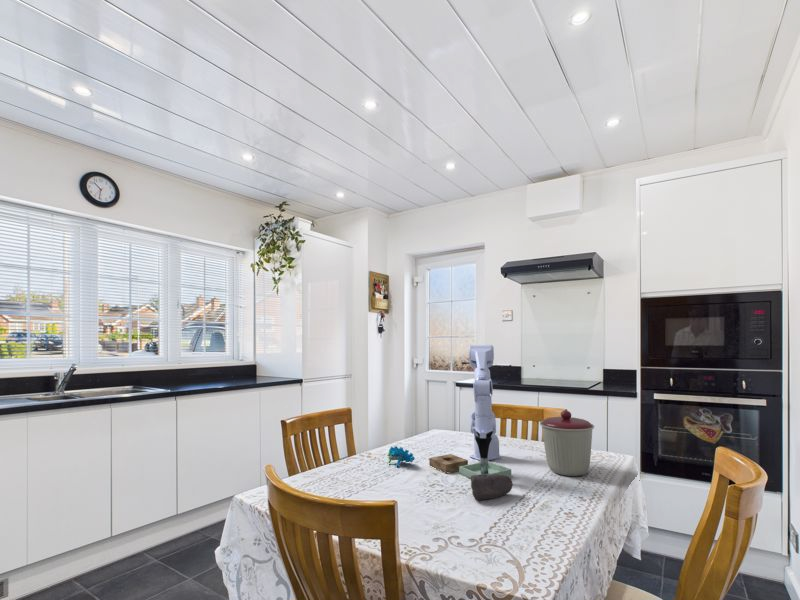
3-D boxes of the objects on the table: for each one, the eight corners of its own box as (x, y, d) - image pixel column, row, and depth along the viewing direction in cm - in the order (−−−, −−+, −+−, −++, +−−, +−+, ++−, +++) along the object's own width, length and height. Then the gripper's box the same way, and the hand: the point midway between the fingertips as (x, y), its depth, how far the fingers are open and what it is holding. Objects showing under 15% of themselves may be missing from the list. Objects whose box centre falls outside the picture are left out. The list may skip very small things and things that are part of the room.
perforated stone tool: (508, 491, 135) (507, 468, 135) (518, 497, 130) (517, 473, 130) (465, 498, 130) (464, 474, 130) (473, 504, 125) (473, 479, 125)
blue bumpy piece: (419, 460, 163) (406, 444, 159) (414, 474, 159) (400, 459, 155) (397, 459, 170) (383, 444, 165) (391, 473, 166) (377, 458, 161)
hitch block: (450, 461, 166) (450, 453, 166) (468, 468, 157) (467, 460, 158) (429, 466, 161) (429, 458, 161) (445, 473, 152) (445, 464, 152)
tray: (487, 467, 158) (487, 460, 158) (511, 476, 148) (511, 469, 148) (459, 474, 151) (459, 466, 152) (482, 484, 141) (482, 476, 141)
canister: (536, 475, 149) (534, 413, 150) (545, 461, 165) (543, 405, 166) (594, 483, 140) (591, 417, 142) (598, 468, 156) (595, 408, 158)
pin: (485, 472, 152) (484, 448, 152) (490, 474, 149) (489, 450, 150) (479, 473, 150) (478, 449, 151) (483, 475, 148) (483, 451, 149)
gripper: (473, 410, 159) (474, 448, 158) (470, 418, 145) (471, 460, 144) (493, 411, 158) (494, 449, 157) (491, 419, 144) (493, 461, 142)
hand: (484, 454), depth 150 cm, fingers open, 7 cm apart
